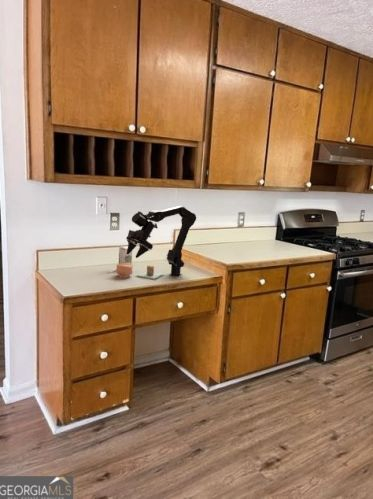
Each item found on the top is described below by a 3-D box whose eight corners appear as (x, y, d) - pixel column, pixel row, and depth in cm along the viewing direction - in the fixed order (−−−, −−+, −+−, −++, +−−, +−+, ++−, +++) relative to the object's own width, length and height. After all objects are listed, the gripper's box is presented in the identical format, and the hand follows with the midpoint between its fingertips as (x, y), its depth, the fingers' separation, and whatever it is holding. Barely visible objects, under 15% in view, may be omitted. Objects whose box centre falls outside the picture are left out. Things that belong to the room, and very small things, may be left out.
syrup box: (125, 268, 235) (126, 245, 232) (131, 270, 232) (132, 247, 229) (118, 269, 231) (118, 246, 228) (124, 271, 227) (125, 248, 224)
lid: (146, 272, 226) (146, 263, 225) (162, 275, 222) (163, 265, 221) (137, 276, 216) (137, 266, 215) (154, 279, 212) (154, 269, 211)
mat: (145, 272, 228) (145, 271, 228) (164, 276, 223) (164, 275, 223) (134, 277, 216) (134, 276, 216) (154, 281, 211) (155, 280, 211)
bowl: (121, 274, 221) (121, 262, 220) (134, 276, 218) (135, 264, 217) (113, 277, 213) (113, 265, 212) (126, 280, 210) (127, 268, 208)
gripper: (126, 221, 208) (112, 245, 206) (145, 226, 194) (130, 252, 192) (140, 231, 216) (126, 254, 213) (159, 236, 202) (145, 262, 199)
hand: (131, 255), depth 204 cm, fingers open, 9 cm apart
